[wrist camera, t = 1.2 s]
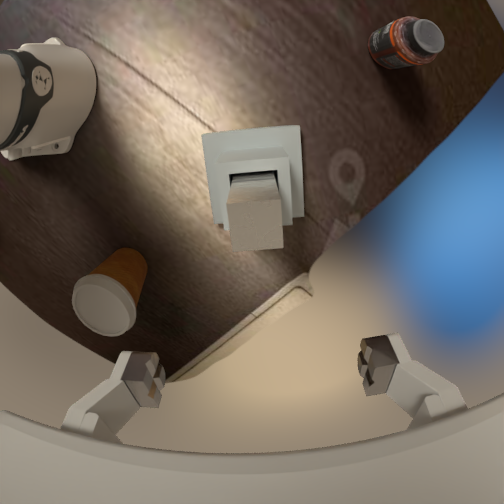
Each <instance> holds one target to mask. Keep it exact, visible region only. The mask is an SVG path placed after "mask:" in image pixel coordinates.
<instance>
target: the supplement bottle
mask: <svg viewBox="0 0 504 504" xmlns="http://www.w3.org/2000/svg"><path fill="white" fill-rule="evenodd" d="M443 47H444V37H443V34H442V32H441V31H440V29H439V28H438V27H437V26H436V25H435V24H434V23H433V22H431V21H429V20H426V19H418V18H415V17H403V18H400V19H398V20H396V21H394V22H392V23H390V24H388V25H386V26H384V27H382V28H380V29H378V30H376V31H375V32H373V33H372V34H371V36H370V37H369V40H368V49H369V52H370V54H371V56H372V58H373V59H374V60H375V61H376V62H377V63H378V64H379V65H381V66H383V67H385V68H388V69H398V68H404V67H409V66H415V65H421V64H426V63H429V62H431V61H432V60H434V58H435V57H436V55H437V53H439V52H440V51H441V50H442V49H443Z"/></svg>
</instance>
